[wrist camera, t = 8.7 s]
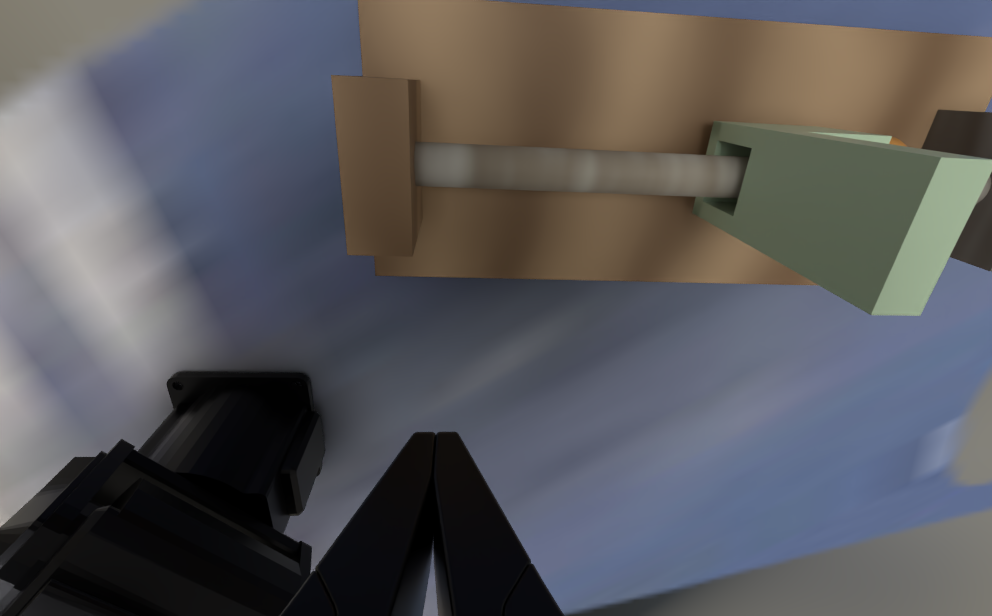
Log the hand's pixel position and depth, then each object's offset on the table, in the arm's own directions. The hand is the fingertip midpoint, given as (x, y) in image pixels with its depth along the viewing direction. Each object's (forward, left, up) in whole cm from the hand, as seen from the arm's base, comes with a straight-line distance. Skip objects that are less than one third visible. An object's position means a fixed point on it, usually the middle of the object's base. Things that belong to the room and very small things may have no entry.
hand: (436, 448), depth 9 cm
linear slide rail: (+9, +4, -13) cm, 16 cm away
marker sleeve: (+12, +4, -11) cm, 16 cm away
